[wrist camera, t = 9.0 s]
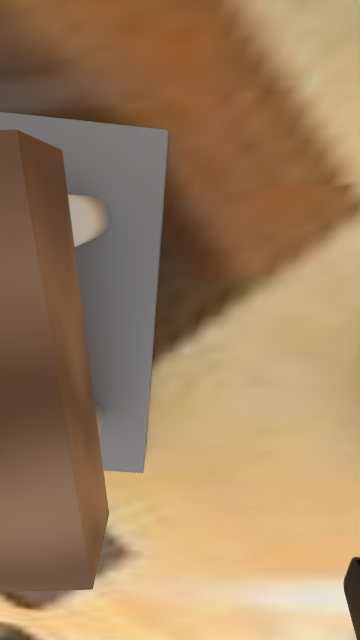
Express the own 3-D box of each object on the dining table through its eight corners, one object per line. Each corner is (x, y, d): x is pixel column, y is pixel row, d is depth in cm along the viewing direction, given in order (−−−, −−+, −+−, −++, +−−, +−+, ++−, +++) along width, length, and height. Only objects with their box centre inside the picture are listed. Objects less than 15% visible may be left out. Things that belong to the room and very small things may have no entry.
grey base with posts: (169, 136, 16) (164, 94, 10) (145, 454, 22) (132, 556, 15) (-54, 112, 15) (-209, 53, 9) (-17, 443, 21) (-95, 543, 15)
